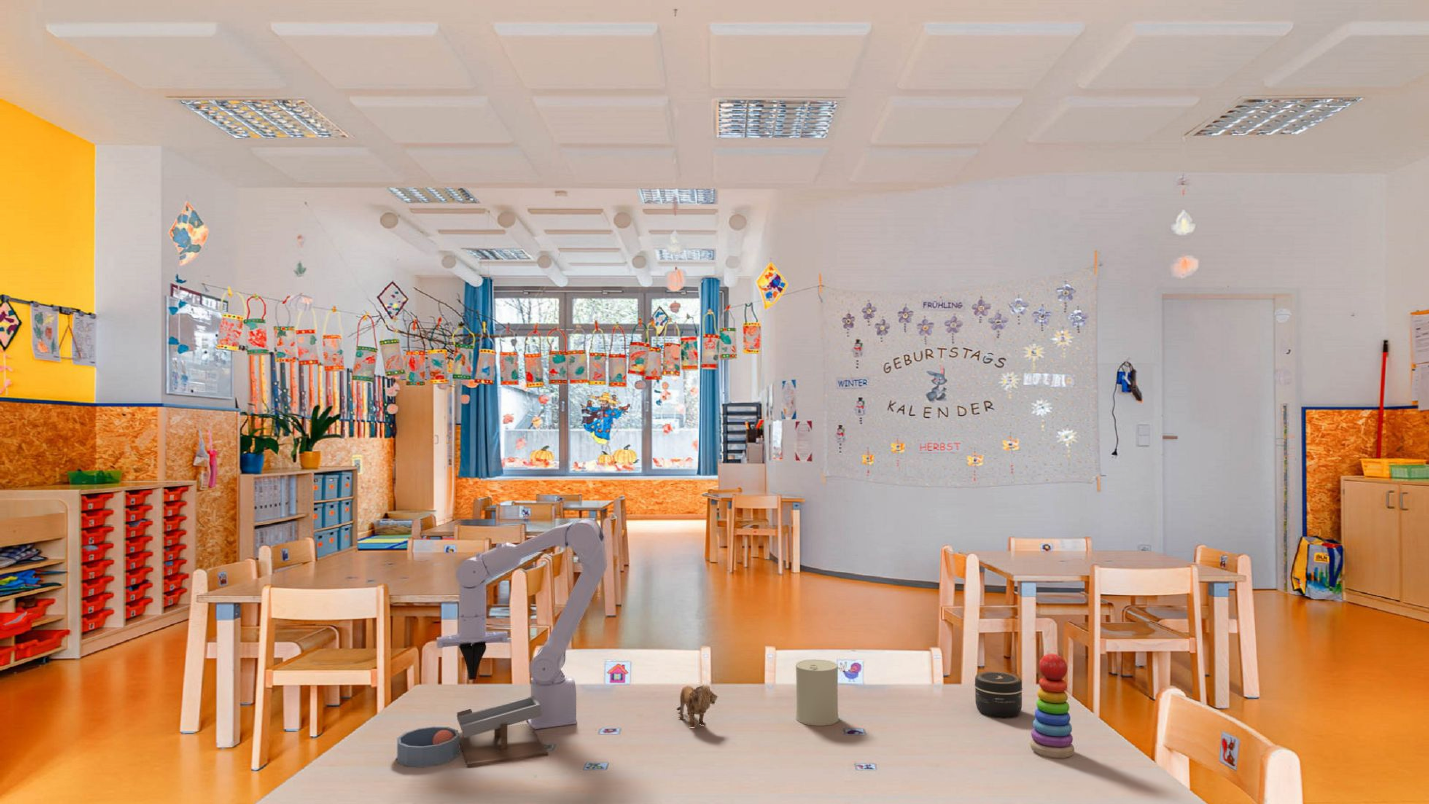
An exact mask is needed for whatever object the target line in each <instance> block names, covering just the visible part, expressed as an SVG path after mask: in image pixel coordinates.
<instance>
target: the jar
mask: <svg viewBox="0 0 1429 804" xmlns="http://www.w3.org/2000/svg"><path fill="white" fill-rule="evenodd" d="M974 691H975V693H974V695H975V704H976V705H975V706H976V708H977V710H978V712H979V713H980V714H982V715H984V716H987V717H990V718H995V719H996V718H997V719H1012V718H1016V717H1019V715H1020V714H1021V712H1022V708H1023V681H1022V679H1021V677H1020V676H1017V675H1015V674H1012V673H1008V672H1003V671H983V672H978V673H977V674H975V677H974Z"/></svg>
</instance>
